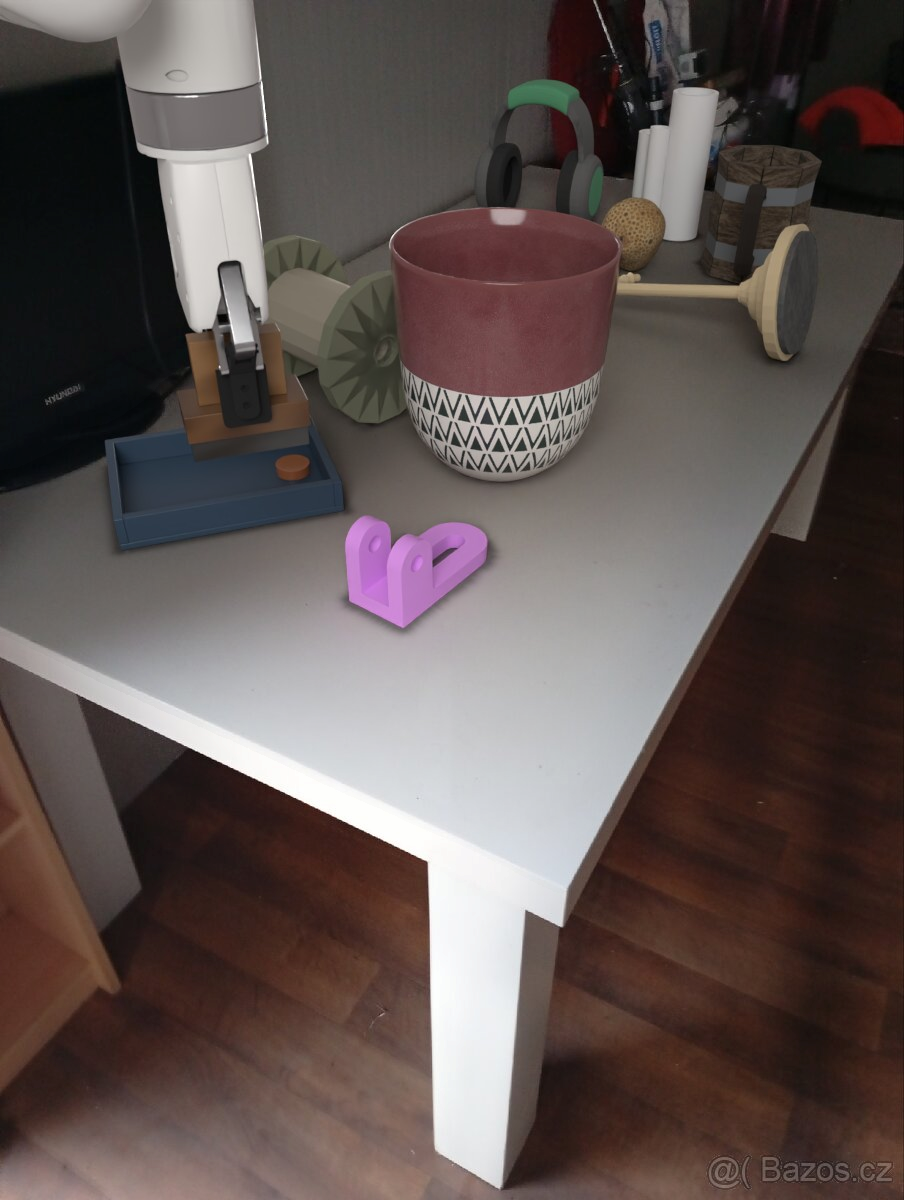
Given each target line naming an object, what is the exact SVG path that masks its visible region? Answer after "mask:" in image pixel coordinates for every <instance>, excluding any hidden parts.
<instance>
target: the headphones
mask: <svg viewBox="0 0 904 1200" xmlns="http://www.w3.org/2000/svg"><path fill="white" fill-rule="evenodd" d="M527 105H537V106H538V105H539V106H545V107H548V108H552V109H555V110H556V111H559V112H560V113H562V114H563V115H564V116H567V117H568V118H569V120H570V122H571V124H572V126H573V128H574V132H575V136H576V140H577V149H573V150H570V151H569V152H568V153H567V155H566V156H565V158H564V160H563V162H562V165H561V168H560V171H559V175H558V179H557V185H556V194H555V212H559V213H564V214H569V215H573V216H577V217H580V218H584V219H587V220H590V221H592V222H593V220H594V219H595V217H596V215H597V213H598V210H599V207H600V204H601V200H602V195H603V188H604V176H605V175H604V166H603V164H602V161H601V158H599V157H598V156H597V155H596V154H594V153H595V136H594V133H595V132H594V126H593V121H592V116H591V114H590V111H589V109H588V106H587V105H586V103H585V102H584V101H583V99H582V98H581V96H580V91H579V89H577V88H576V87H574V86H572V85H570V84H569V83H566V82H564V81H560V80H555V79H543V78H542V79H533V80H529V81H526V82H523V83H522V84H519V85H517V86H515V87H513V88H511V89H510V90H509V92H508V95H507V98H506V99H504V101H502V103H501V104H500V105H499V107H498V109H497V111H496V112H495V113H494V117H493V119H492V122H491V127H490V130H489V137H488V146H486V147H485V148H484V149H483V150H482V152H481V154H480V155H479V157H478V160H477V163H476V166H475V171H474V180H473V181H474V182H473V189H474V191H473V192H474V198H475V201H476V204H477V206H478V208H497V207H503V208H516V206H517V203H518V200H519V197H520V193H521V189H522V182H523V158H522V152H521V149H520V147H519V146H518V145H517V144H515V143H513V142H506V139H507V131H508V128H509V127H508V126H509V123H510V120H511V117H512V115H513V113H514V111H515V109H517V108H519V107H522V106H527Z"/></svg>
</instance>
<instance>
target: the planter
mask: <svg viewBox="0 0 904 1200" xmlns="http://www.w3.org/2000/svg"><path fill="white" fill-rule="evenodd" d="M622 251H623V247H622V243H621V241H620V239H619V238H618V237H617V236H616V235H615V234H614V233H613V232H612V231H610V230H609V229H607V228H605V227H603V226H601V224H599V223H597V222H595V221H593V220H592V221H590V220H587V219H584V218H580V217H577V216H573V215H569V214H564V213H559V212H556V211H553V210H552V211H551V210H544V209H536V208H527V207H526V208H525V207H515V208H503V207H497V208H479V207H475V208H465V209H464V208H463V209H456V210H450V211H449V210H448V211H444V212H440V213H435V214H431V215H427V216H424V217H420V218H417V219H416V220H413V221H411V222H408V223H407V224H405V225H402V226H401V227H400V228H399V229H397V230H396V231H395V232H394V234H393V235H392V236H391V238H390V240H389V258H390V259H389V260H390V271H391V274H392V284H393V293H394V303H395V314H396V326H397V338H398V348H399V357H400V367H401V378H402V385H403V392H404V397H405V401H406V404H407V408H406V409H407V411H408V415H409V417H410V420H411V423H412V425H413V427H414V429H415V432H416V433H417V435H418V437H419V438H420V440H421V441H422V442H423V444H424V445H425V446H426V448H427V449H428V450H429V451H430V453H432V454H433V455H434V456H435V457H436V458H437V459H439V460H440V461H441V462H442V463H443V464H445V465H446V466H448V467H449V468H451V469H453V470H454V471H457V472H458V473H460V474H463V475H464V476H468V477H470V478H473V479H476V480H480V481H487V482H514V481H519V480H523V479H526V478H530V477H533V476H535V475H537V474H539V473H543V471H546V470H547V469H549V468H551V467H552V466H554V465H555V464H557V463H558V462H559V461H561V460H562V459H563V458H565V456H566V455H568V453H569V452H571V451H572V450H573V448H574V447H575V446H576V445H577V443H578V442H580V440H581V438H582V436H583V435H584V434H585V433H584V432H585V431H586V429H587V427H588V425H589V422H590V420H591V418H592V417H593V413H594V411H595V408H596V405H597V401H598V397H599V393H600V390H601V383H602V378H603V372H604V368H605V361H606V356H607V350H608V345H609V339H610V332H611V326H612V319H613V313H614V307H615V303H616V296H617V295H616V291H617V286H618V280H619V277H620V272H621V267H620V266H621V259H622Z"/></svg>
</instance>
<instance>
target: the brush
mask: <svg viewBox="0 0 904 1200" xmlns="http://www.w3.org/2000/svg"><path fill="white" fill-rule="evenodd" d="M258 332H259V338H260V344H261V351H262V357H263V363H264V364H265V366H266V372H267V380H268V388H269V396H270V404H271V412H272V419H271V421H269V422H267V423H260V424H254V425H247V426H241V427H234V428H228V427H226V426H225V424H224V421H223V416H222V409H221V403H220V397H219V391H218V385H217V379H216V372H215V370H218V369H219V364H218V358H217V353H216V347H215V341H214V336H213V331H207V332H206V331H202V333H197V332H191V333H186V334H185V339H186V344H187V351H188V357H189V363H190V368H191V373H192V378H193V380H192V381H193V385H194V388H186V389H179V390H176V396H177V400H178V406H179V411H180V417H181V421H182V424H183V428H185V432H186V435H187V439H188V443H189V444H190V445H191V448H192V452H193V456H194V460H195V462H201V461H207V460H213V459H220V458H226V457H232V456H238V455H244V454H251V453H257V452H263V451H269V450H275V449H282V448H288V447H294V446H300V445H306V444H309V433H308V426H311V420H310V416H311V412H310V410H311V409H310V402H309V401H310V400H309V398H308V397H307V394H306V393H305V390H304V389H303V387H302V384H301V383H300V381H299V378H298V376H297V377H296V375H295V374H293V375H285V370H284V361H283V353H282V344H281V335H280V331H279V329H278V327H277V325H276V323H270V324H263V325H258ZM223 337H224V343H225V347H226V345H227V342H231V334H223Z"/></svg>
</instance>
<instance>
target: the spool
mask: <svg viewBox="0 0 904 1200" xmlns="http://www.w3.org/2000/svg"><path fill="white" fill-rule="evenodd" d="M263 252H264V260H265V270H266V280H267V291H268V303H269V318H268V319H267V321H266V322H265V323H264V324H270V323H276V325H277V327H278V329H279V331H280V335H281V344H282V353H283V361H284V370H285V375H293V374H295V375H296V377H297V378H298V377H300V376H302V375H305V374H308V373H310V372H313V371H314V370H315V369H317V370H318V379H319V385H320V387H321V389H322V391H323V392H324V394H325V396H326V398H327V400H328V402H329V404H330V406H331V407H334V409H335V410H337V411H338V412H340V413H341V414H343V415H344V416H346V417H347V418H349V419H351V420H353V421H355V422H357V423H364V424H367V423H368V424H381V423H383V422H385V421H388V420H390V419H392V418H394V417H396V416H399V415H401V414H402V413H403V412H404V411H405V410H406V409H408V408H407V404H406V401H405V397H404V392H403V385H402V378H401V367H400V357H399V348H398V338H397V326H396V314H395V303H394V293H393V284H392V274H391V270H388V269H383V270H379V271H376V272H374V273H370V274H367V275H364V276H361V277H360V278H359V279H358V280H357V281H355V282H354V283H353V284H352V285H349V279H348V276H347V275H346V272H345V270H344V268H343V265H342V263H341V261H340V258H339V257H338V256H337V255H336V254H335V253H334V252H333V251H331V249H329V248H328V247H327V246H326V245H325V244H324V243H322V242H320V241H318V240H315V239H312V238H308V237H304V236H299V235H295V234H289V235H285V236H282V237H281V236H280V237H278V238H274V239H270V240H268V241H266V243H264V244H263ZM257 323H258V321H257ZM258 325H259V323H258Z"/></svg>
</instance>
